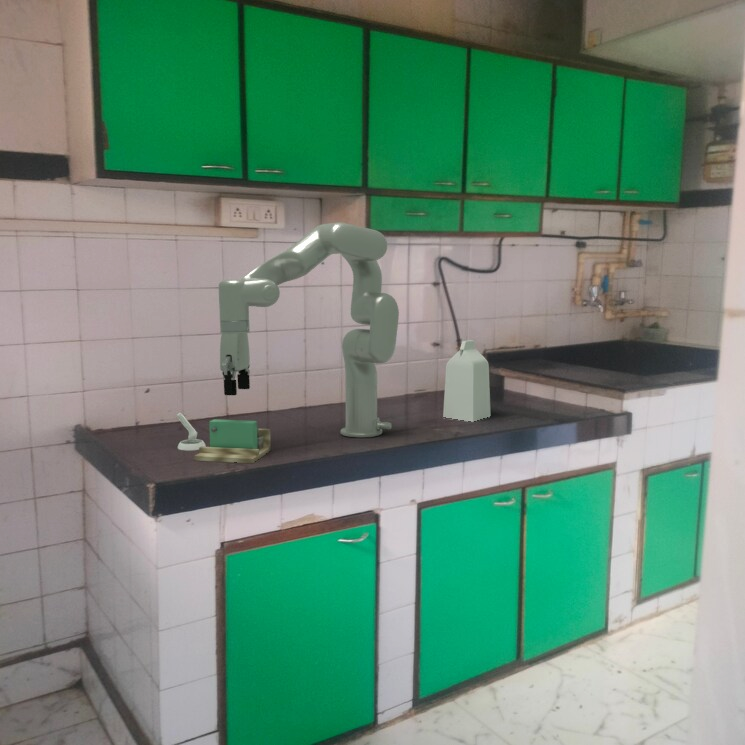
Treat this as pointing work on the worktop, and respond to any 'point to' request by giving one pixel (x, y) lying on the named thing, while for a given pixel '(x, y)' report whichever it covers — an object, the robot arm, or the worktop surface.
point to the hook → (192, 442)
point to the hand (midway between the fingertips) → (237, 391)
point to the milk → (467, 385)
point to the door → (233, 434)
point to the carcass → (237, 451)
